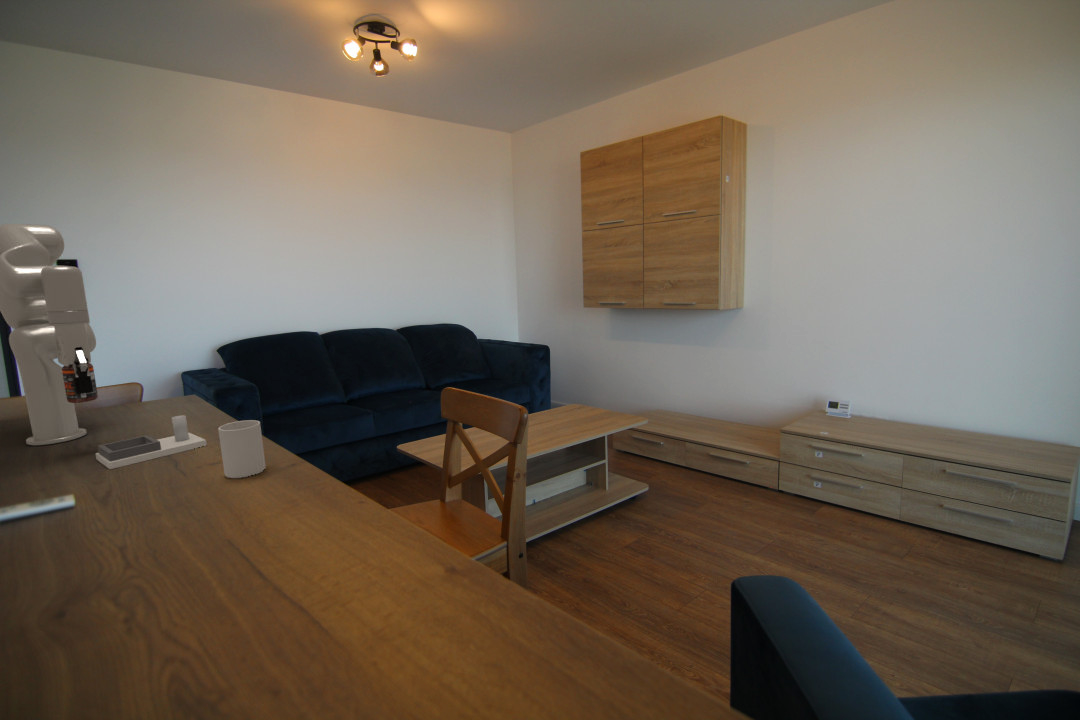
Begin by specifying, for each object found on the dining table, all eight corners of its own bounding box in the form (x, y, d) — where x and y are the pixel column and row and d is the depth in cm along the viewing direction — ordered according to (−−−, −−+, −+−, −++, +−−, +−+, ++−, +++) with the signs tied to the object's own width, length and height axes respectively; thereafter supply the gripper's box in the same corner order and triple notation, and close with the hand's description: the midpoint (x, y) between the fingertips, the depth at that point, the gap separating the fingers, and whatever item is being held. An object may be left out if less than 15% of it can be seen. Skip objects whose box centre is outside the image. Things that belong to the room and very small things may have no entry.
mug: (271, 470, 119) (266, 423, 117) (232, 481, 113) (225, 432, 111) (250, 459, 127) (244, 415, 125) (212, 469, 121) (206, 423, 120)
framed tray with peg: (96, 459, 132) (91, 429, 130) (189, 437, 147) (185, 410, 145) (109, 469, 124) (104, 437, 123) (206, 445, 139) (202, 417, 138)
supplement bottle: (61, 402, 134) (53, 357, 132) (87, 397, 139) (79, 353, 137) (78, 404, 132) (70, 358, 130) (104, 398, 138) (97, 354, 136)
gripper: (41, 317, 135) (54, 389, 138) (56, 321, 124) (69, 399, 127) (80, 315, 140) (91, 383, 144) (97, 318, 129) (109, 393, 133)
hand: (81, 390), depth 135 cm, fingers closed on supplement bottle, 5 cm apart
